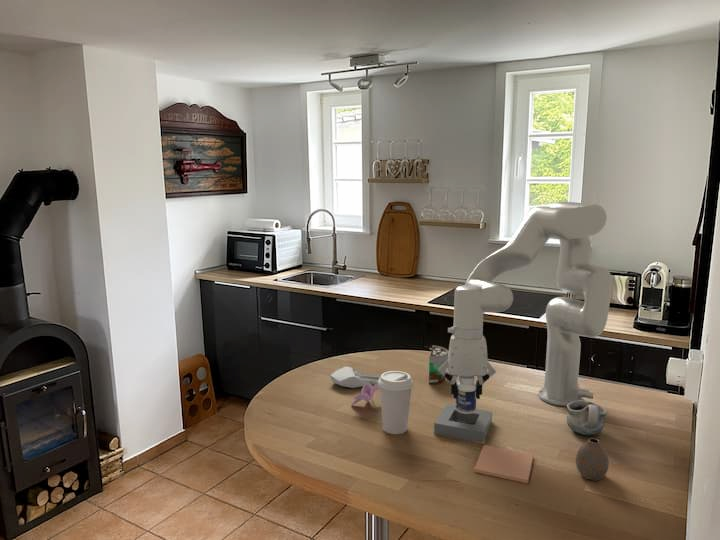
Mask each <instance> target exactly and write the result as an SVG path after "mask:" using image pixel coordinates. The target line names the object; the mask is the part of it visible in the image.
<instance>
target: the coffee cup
mask: <svg viewBox="0 0 720 540" xmlns="http://www.w3.org/2000/svg"><path fill="white" fill-rule="evenodd" d="M380 375H381V377H380V378H379V380H378V386H380V389H379V394H380V405H381V407H380V408H381V420H382V430H383V431H384V432H385V433H387V434H390V435H401V434H404V433H406V432H407V430H408V422H409V414H410V407H411V406H410V403H411V396H412V388H413V387H414V384H415V383H414V380H413V379H412V376H411V375H410V373H407V372H404V371H400V370H389V371H385V372H383V373H382V374H380Z"/></svg>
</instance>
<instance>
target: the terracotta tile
mask: <svg viewBox="0 0 720 540" xmlns="http://www.w3.org/2000/svg"><path fill="white" fill-rule="evenodd" d="M533 460H534V454H530V453H526V452H522V451H521V452H520V451H515V450H511V449H506V448H500V447H496V446H491V445H485V444H484V445H483V446H482V449H481V451H480V454H479V456H478V459H477V461H476V463H475V466H474V468H473V472H474V473H478V474H483V475H487V476H490V477H491V476H492V477H497V478H501V479H505V480H506V479H507V480H510V481H516V482H520V483H525V484H528V483H529V479H530V475H531V470H532V465H533Z"/></svg>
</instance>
